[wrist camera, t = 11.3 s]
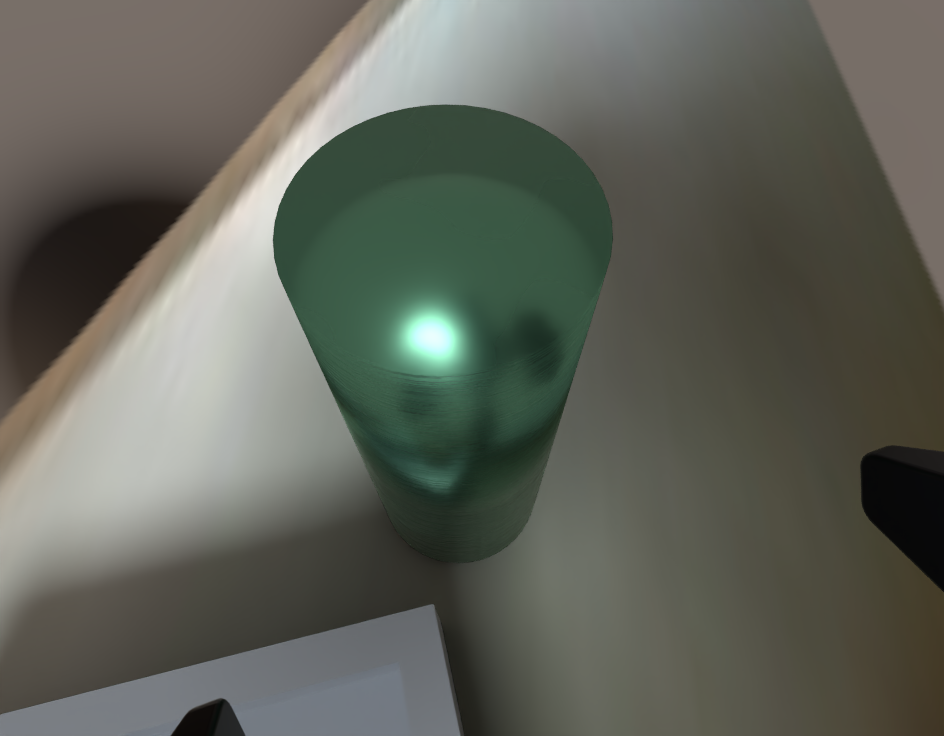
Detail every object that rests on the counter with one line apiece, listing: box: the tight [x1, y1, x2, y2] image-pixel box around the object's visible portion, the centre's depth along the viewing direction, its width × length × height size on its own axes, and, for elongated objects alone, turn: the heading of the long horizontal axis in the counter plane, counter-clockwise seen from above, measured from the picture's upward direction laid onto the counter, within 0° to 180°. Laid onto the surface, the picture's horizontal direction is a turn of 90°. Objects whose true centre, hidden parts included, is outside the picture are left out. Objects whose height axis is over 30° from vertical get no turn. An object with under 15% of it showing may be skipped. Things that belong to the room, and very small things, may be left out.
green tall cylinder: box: [273, 105, 613, 563], centre depth 15 cm, size 5×5×13 cm
